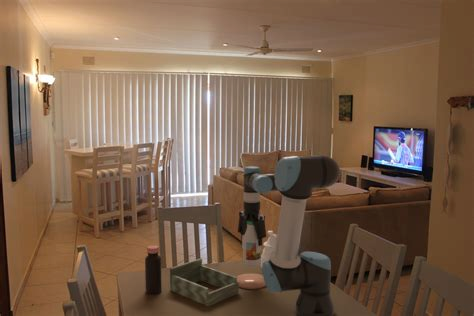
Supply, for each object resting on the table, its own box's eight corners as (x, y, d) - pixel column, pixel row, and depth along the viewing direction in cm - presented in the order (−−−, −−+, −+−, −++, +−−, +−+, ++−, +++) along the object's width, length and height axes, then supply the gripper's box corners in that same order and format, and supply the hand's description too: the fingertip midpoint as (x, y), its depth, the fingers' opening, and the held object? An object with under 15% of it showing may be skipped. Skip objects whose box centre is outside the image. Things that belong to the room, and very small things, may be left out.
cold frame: (238, 293, 196) (238, 270, 195) (208, 306, 183) (208, 282, 182) (200, 279, 212) (200, 258, 211) (170, 290, 199) (170, 268, 198)
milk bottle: (240, 264, 206) (240, 221, 203) (247, 259, 212) (248, 217, 210) (255, 267, 202) (255, 223, 200) (262, 262, 209) (263, 219, 207)
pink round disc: (274, 282, 209) (274, 279, 208) (253, 291, 198) (253, 288, 197) (249, 274, 219) (249, 271, 219) (228, 282, 208) (228, 279, 208)
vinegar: (148, 296, 193) (148, 250, 191) (143, 290, 199) (142, 246, 196) (163, 292, 196) (163, 247, 194) (158, 287, 202) (157, 243, 200)
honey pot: (258, 269, 225) (258, 234, 224) (264, 261, 238) (264, 227, 236) (283, 272, 222) (284, 236, 220) (288, 263, 234) (289, 229, 232)
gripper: (275, 202, 200) (274, 253, 202) (240, 196, 214) (240, 244, 216) (264, 205, 194) (263, 257, 197) (229, 199, 208) (229, 247, 211)
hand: (251, 250), depth 207 cm, fingers closed on milk bottle, 8 cm apart
